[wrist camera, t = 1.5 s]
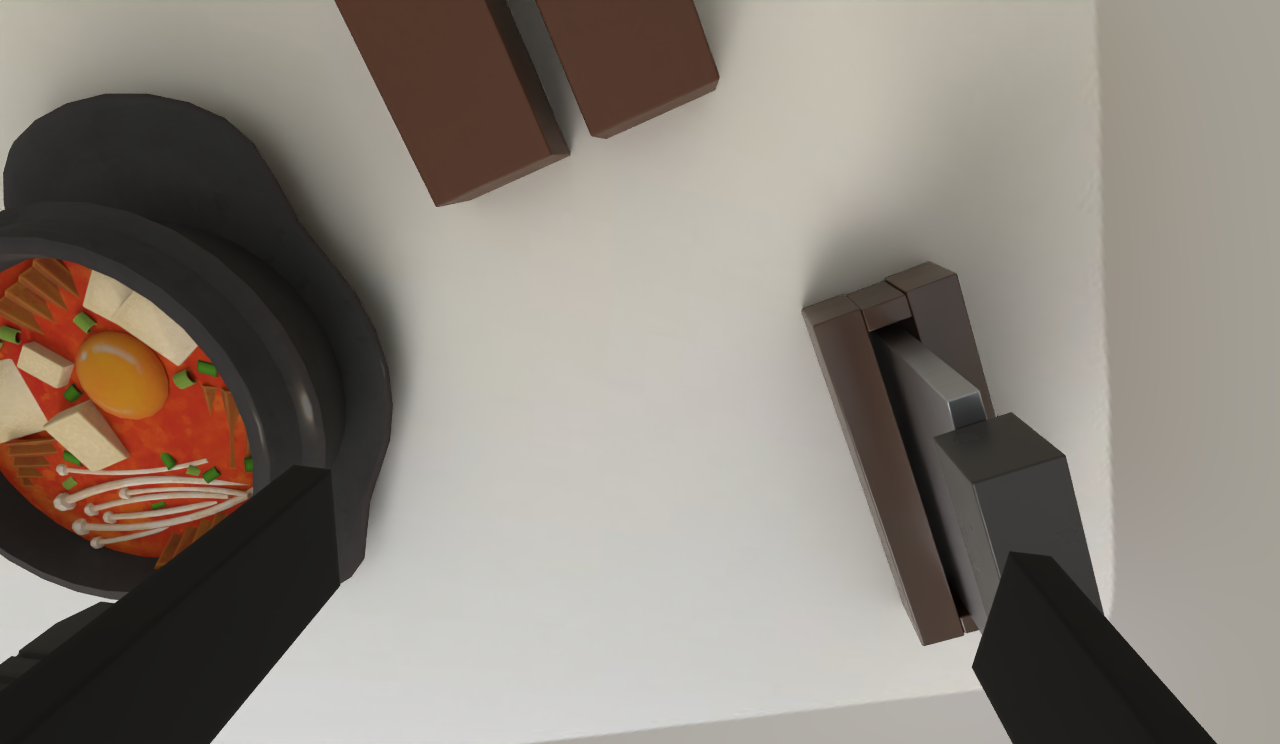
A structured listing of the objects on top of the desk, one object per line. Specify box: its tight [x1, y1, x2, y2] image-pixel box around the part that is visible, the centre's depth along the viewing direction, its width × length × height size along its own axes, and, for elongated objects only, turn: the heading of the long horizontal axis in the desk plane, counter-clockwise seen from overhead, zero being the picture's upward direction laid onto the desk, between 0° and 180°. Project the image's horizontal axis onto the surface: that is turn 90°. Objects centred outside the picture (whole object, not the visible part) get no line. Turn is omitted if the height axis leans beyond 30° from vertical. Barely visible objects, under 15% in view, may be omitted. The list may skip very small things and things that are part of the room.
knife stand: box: [801, 262, 995, 646], centre depth 29 cm, size 6×17×3 cm, turn 23°
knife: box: [868, 323, 1104, 634], centre depth 24 cm, size 2×14×13 cm, turn 23°
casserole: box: [0, 94, 393, 600], centre depth 28 cm, size 25×19×8 cm
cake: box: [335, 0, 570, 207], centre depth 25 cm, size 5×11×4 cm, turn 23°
